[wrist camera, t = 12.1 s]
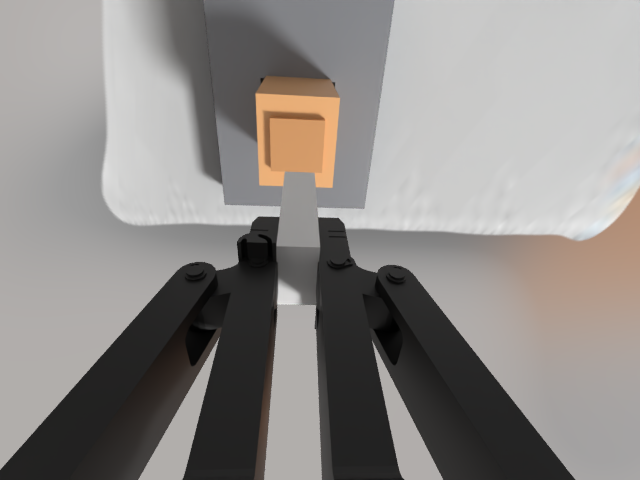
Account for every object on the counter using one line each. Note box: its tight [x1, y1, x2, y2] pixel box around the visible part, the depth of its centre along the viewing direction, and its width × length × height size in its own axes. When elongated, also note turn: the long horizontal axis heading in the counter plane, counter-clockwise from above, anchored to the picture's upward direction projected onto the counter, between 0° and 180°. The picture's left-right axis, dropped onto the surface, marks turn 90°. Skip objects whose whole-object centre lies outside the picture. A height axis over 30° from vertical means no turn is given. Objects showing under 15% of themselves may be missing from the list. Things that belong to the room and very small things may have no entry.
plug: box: [256, 76, 340, 188], centre depth 30 cm, size 7×6×12 cm
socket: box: [203, 0, 394, 209], centre depth 35 cm, size 20×16×4 cm
